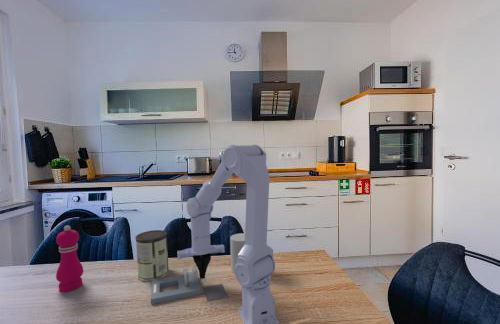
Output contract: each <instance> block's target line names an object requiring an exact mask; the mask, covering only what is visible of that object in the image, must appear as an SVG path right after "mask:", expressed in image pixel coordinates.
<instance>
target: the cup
mask: <svg viewBox="0 0 500 324" xmlns="http://www.w3.org/2000/svg"><path fill="white" fill-rule="evenodd" d="M229 241H230V243H229V244H230V270H231V273H233V274H234V275H235V265H236V263H237V260H238V254H239V252H240V251H241V249H242V248H243V246H244V245H245V232H244V233H242V232H241V233H240V232H239V233H235V234H232V235H230V239H229Z"/></svg>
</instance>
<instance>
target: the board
mask: <svg viewBox="0 0 500 324" xmlns="http://www.w3.org/2000/svg"><path fill="white" fill-rule="evenodd" d="M199 279H200V278H198V284H195V285H190V286H185V285H184V274H183V275H177V276H176V275H175V276H171V277H165V278H158V279H155V280H151V292H150V304H151V305H154V304H159V303H165V302H169V301H174V300H179V299H184V298H190V297H194V296H200V295H202V286H201V283H200V280H199ZM172 286H177V287H178V288H177V289H171V290H165V291H161V288H167V287H172Z"/></svg>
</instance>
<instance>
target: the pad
mask: <svg viewBox="0 0 500 324" xmlns="http://www.w3.org/2000/svg"><path fill="white" fill-rule="evenodd" d="M203 292H204V294H205V295H204V296H205V297H206V301H207V303H208V302H213V301H219V300H222V299H226V298H229V295H228V294H227V291H226V289H225V287H224V285H223V283H218V284H214V285H208V286H204V287H203Z"/></svg>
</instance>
